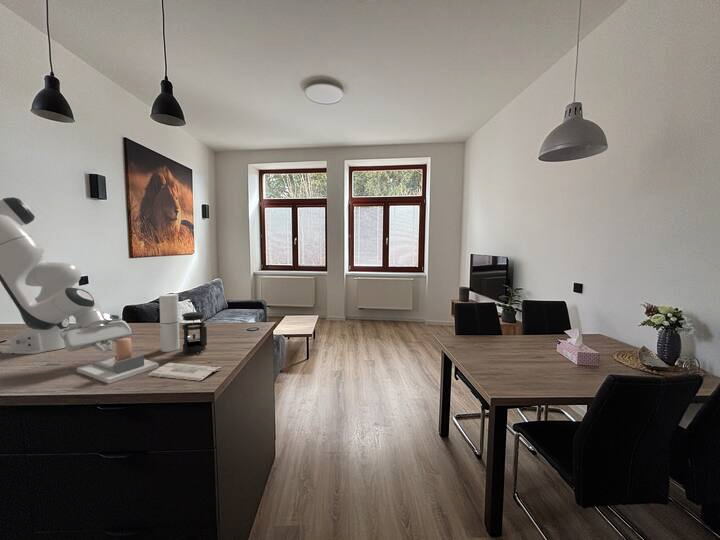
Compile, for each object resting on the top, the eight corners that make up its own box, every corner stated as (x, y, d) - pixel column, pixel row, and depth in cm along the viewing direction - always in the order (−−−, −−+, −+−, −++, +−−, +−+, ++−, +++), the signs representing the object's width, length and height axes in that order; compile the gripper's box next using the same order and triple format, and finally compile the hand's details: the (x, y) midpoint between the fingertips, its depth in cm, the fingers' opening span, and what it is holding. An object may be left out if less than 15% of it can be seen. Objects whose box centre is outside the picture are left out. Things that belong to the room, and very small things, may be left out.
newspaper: (224, 369, 112) (224, 363, 112) (201, 386, 100) (201, 380, 100) (173, 364, 116) (173, 358, 116) (146, 380, 105) (145, 373, 104)
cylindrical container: (170, 352, 129) (168, 296, 127) (156, 351, 130) (155, 295, 129) (183, 347, 136) (181, 294, 134) (170, 346, 137) (168, 293, 136)
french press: (175, 352, 128) (174, 301, 127) (194, 346, 137) (193, 298, 136) (196, 356, 125) (195, 302, 123) (213, 349, 134) (212, 299, 132)
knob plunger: (113, 367, 107) (111, 340, 106) (128, 363, 111) (127, 336, 111) (120, 370, 104) (119, 342, 104) (136, 365, 109) (135, 338, 108)
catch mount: (77, 371, 107) (76, 357, 107) (126, 357, 122) (126, 344, 121) (108, 383, 98) (108, 367, 97) (158, 367, 112) (158, 353, 112)
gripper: (60, 325, 106) (75, 355, 103) (125, 314, 125) (139, 340, 121) (55, 335, 108) (69, 365, 105) (119, 323, 127) (133, 349, 123)
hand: (107, 351), depth 113 cm, fingers closed
